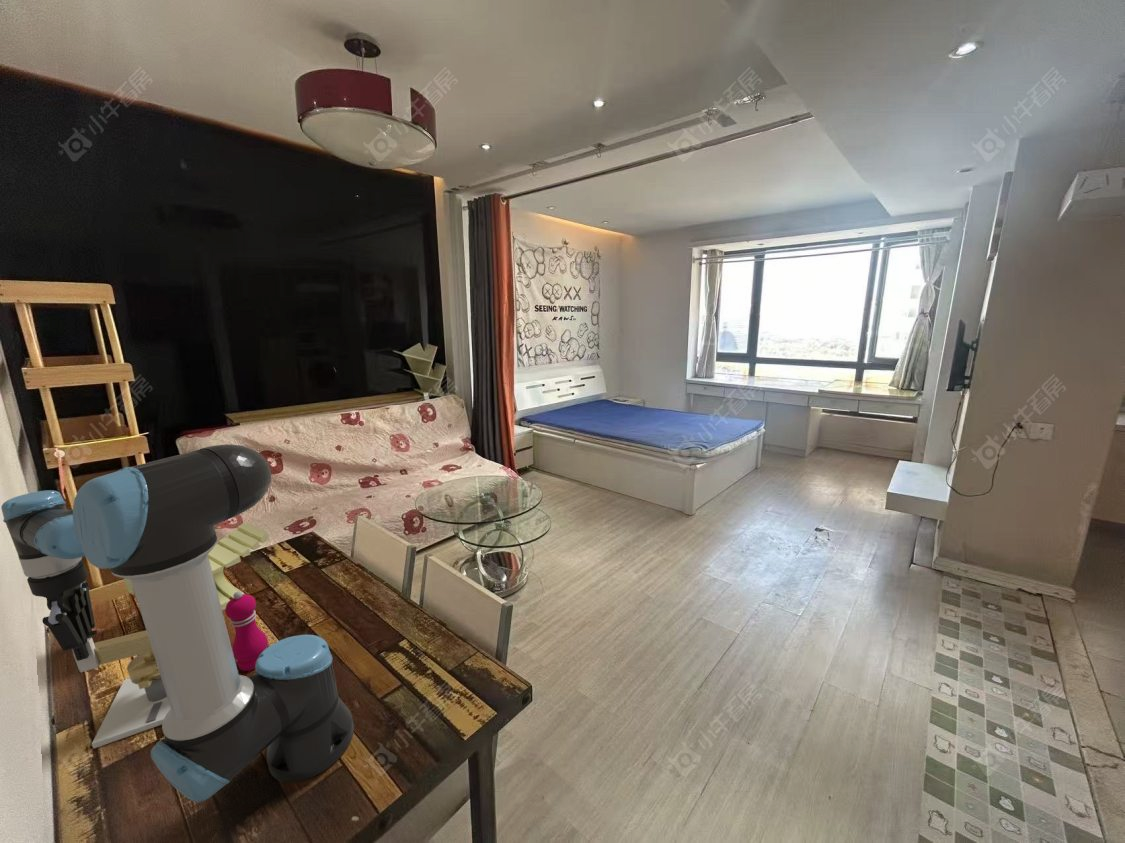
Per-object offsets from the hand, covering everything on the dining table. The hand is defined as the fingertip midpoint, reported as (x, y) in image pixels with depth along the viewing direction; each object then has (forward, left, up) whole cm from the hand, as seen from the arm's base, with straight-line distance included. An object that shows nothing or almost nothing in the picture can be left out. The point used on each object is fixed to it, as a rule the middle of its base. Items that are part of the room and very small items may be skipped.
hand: (90, 667), depth 92 cm
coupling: (+1, -9, -6) cm, 11 cm away
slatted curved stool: (+38, -12, -13) cm, 42 cm away
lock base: (+1, -9, -13) cm, 16 cm away
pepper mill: (+3, -26, -13) cm, 29 cm away
